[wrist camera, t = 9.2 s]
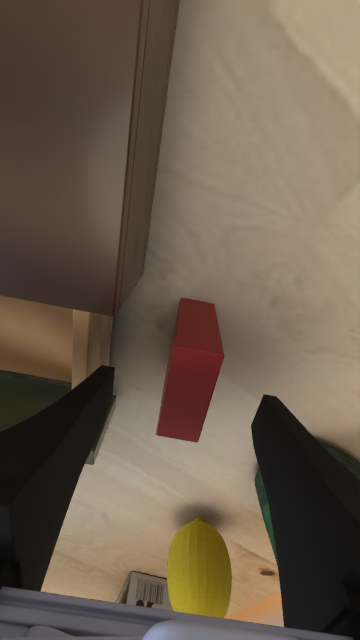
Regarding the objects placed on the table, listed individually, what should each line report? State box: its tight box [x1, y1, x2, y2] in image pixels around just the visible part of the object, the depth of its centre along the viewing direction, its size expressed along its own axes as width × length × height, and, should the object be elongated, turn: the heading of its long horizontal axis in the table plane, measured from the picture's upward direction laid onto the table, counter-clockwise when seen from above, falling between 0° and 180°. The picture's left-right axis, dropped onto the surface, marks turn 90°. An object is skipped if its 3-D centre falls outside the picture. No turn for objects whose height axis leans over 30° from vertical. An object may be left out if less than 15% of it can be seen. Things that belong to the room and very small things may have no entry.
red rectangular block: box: [156, 298, 224, 442], centre depth 15 cm, size 5×2×6 cm, turn 169°
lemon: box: [167, 518, 232, 618], centre depth 23 cm, size 6×6×8 cm
